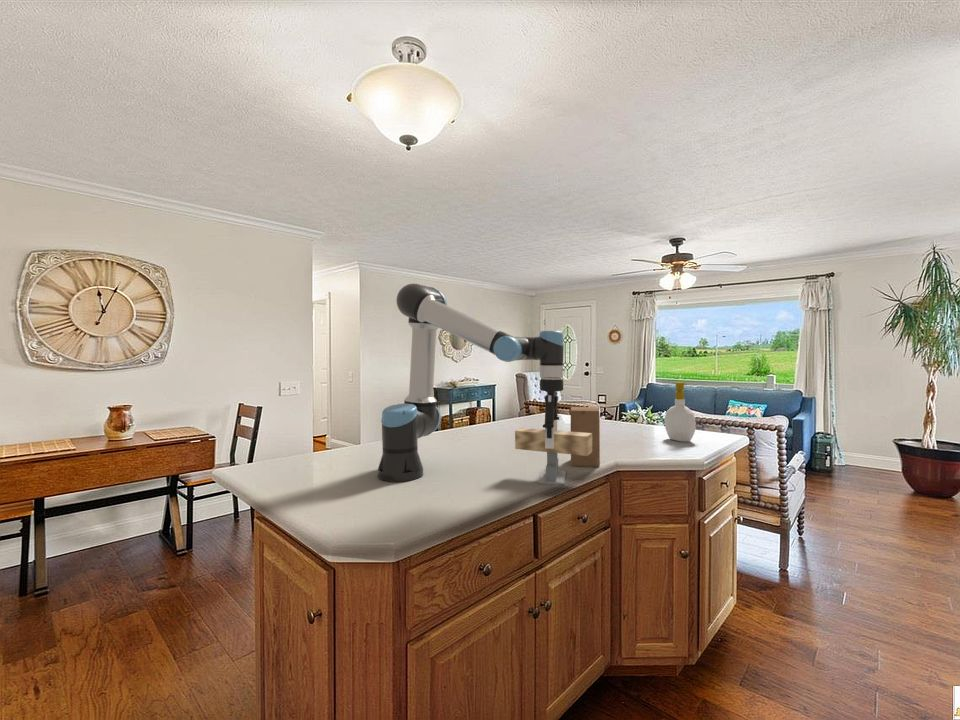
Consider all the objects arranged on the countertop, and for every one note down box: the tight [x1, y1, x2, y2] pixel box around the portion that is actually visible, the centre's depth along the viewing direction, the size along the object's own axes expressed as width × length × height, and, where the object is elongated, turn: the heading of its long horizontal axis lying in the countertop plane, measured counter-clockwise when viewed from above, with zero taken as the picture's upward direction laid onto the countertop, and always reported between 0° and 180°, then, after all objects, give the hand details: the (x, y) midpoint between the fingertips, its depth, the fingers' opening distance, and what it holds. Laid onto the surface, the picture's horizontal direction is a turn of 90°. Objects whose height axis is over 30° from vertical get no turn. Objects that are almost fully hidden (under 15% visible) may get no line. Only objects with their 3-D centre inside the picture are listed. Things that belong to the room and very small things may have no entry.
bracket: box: [537, 452, 567, 486], centre depth 149 cm, size 8×14×9 cm, turn 166°
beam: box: [514, 427, 592, 456], centre depth 148 cm, size 24×6×6 cm, turn 63°
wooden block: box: [570, 406, 601, 468], centre depth 167 cm, size 10×10×20 cm
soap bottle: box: [664, 381, 697, 443], centre depth 204 cm, size 14×9×26 cm, turn 32°
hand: (551, 443), depth 149 cm, fingers open, 13 cm apart
